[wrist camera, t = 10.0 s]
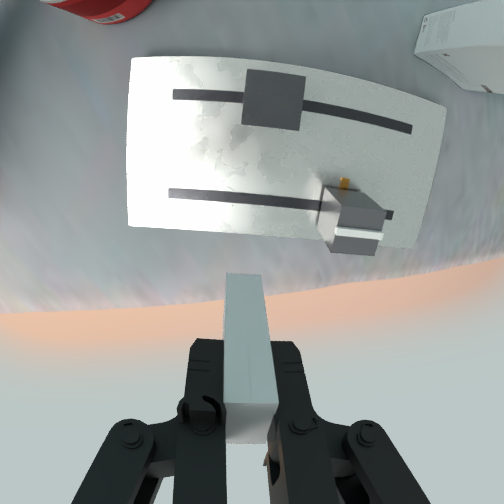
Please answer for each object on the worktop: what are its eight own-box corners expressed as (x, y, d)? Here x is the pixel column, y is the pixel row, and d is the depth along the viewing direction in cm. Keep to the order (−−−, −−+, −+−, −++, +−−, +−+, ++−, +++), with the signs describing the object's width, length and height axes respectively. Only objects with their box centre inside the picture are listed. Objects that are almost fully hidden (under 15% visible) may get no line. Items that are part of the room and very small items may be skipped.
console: (136, 216, 30) (109, 250, 23) (140, 61, 23) (108, 50, 16) (403, 239, 33) (436, 274, 26) (434, 106, 25) (480, 113, 18)
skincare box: (411, 54, 23) (514, 45, 10) (422, 12, 20) (519, -12, 7) (466, 92, 24) (565, 111, 11) (476, 52, 22) (571, 56, 8)
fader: (316, 227, 28) (331, 254, 24) (324, 187, 27) (342, 207, 22) (355, 231, 29) (376, 258, 24) (365, 192, 27) (389, 213, 22)
